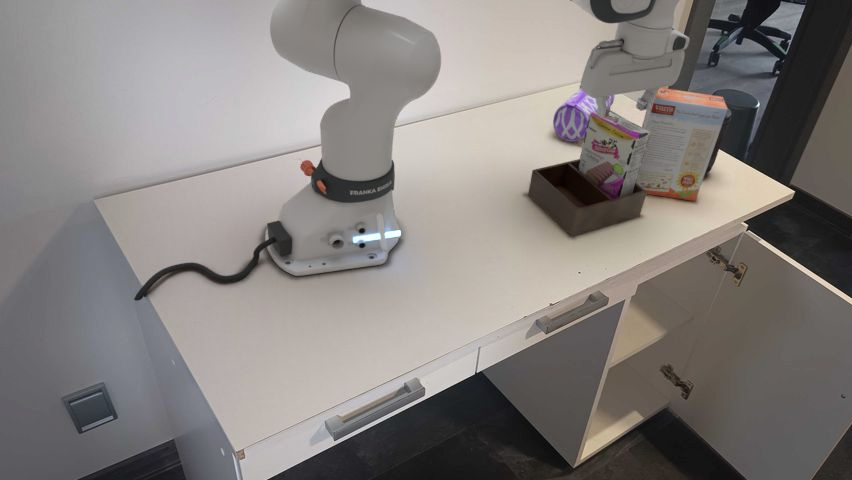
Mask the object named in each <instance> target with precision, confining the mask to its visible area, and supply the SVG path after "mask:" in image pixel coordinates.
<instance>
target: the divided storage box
mask: <svg viewBox="0 0 852 480" xmlns="http://www.w3.org/2000/svg"><path fill="white" fill-rule="evenodd" d="M579 160H580V158H578V159H574V160H570V161H564V162H560V163H556V164H552V165H548V166H544V167H539V168H535V169H532V171H531V177H530V182H529V187H528V195H527V196H529V198H530V199H531V200H532V201H534V202H535V203H536V205H538V206H539V207H540V208H541V209H542V210H543V211H544V212H545V213H546V214H547V215H549V216H550V218H552V219H553V220H554V221H555V222H556V223H557V224H558V225H559V226H560V227H561V228H562V229H563V230H564V231H565V232H566V233H568V235H570V236H571V237H575V236H579V235H582V234H585V233H588V232H593V231H595V230H598V229H601V228H605V227H609V226H612V225H615V224H618V223H622V222H625V221H628V220H632V219H635V218H638V217H640V216H641V213H642V209H643V207H644V203H645V200H646V197H647V195H648V194H647V191H646V190H644V189H643V188H642V187H641V186H639V185H638V184H637V183H635V187H634V190H633V193H632V194H629V195H626V196H622V197H618V198H615V199H612V198H611V197H610V196H609V195H607V194H606V193H605V192H604V191H603V190H601V189H600V188H599V187H598V186H597V185H595V184H594V183H593V182H592V181H591V180H590V179H588V178H587V177H586V176H585V175H584V174H582V173H581V172H580V171H579V170H578V165H579Z"/></svg>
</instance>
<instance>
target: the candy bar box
mask: <svg viewBox="0 0 852 480" xmlns="http://www.w3.org/2000/svg"><path fill="white" fill-rule="evenodd" d="M649 136H650V132H649V131H647V130H645V129H644V128H642V126H639V125H638V124H636V123H634V122H633V121H630V120H628V119H627V118H625V117H623V116H621V115H619V114H618V113H616V112H614V111H612V110H610V112H609V116H608V117H604V118H600V117H599V116H598V115H597V111H596V112H592V113H591V114H590V116H589V120H588V125H587V129H586V133H585V137H584V138H583V143H582V146H581V148H582V149H581V152H580V155H579V159H580V160H579V165H578V170H579V171H580V172H581V173H582V174H584V175H585V176H586V177H587V178H588V179H590V180H591V181H592V182H593V183H594V184H595V185H597V186H598V187H599V188H600V189H601V190H603V191H604V192H605V193H606V194H607V195H609V196H610V197H611V198H612V199H615V198H618V197H622V196H626V195H629V194H632V193H633V190H634V187H635V183H636V180H637V176H638V173H639V170H640V166H641V163H642V160H643V156H644V153H645V150H646V146H647V143H648V140H649Z"/></svg>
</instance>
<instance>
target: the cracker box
mask: <svg viewBox="0 0 852 480" xmlns="http://www.w3.org/2000/svg"><path fill="white" fill-rule="evenodd" d="M727 108H728V105H727V104H726V101H725V98H724V97H723V96H719V95H714V94H713V95H712V94H706V93H700V92H692V91H686V90H679V89H673V88H668V87H666V88H665V87H660V88H659V89H658V93H657V94H656V95H655V96H654V98H653V99H652V100H651V101H650V104H649V107H648V109H647V110H645V113H644V118H643V121H642V126H641V127H642V128H644V129H645V130H647V131H649V132H650V136H649V140H648V143H647V146H646V150H645V153H644V156H643V160H642V163H641V166H640V170H639V173H638V176H637V180H636V183H637V184H638V185H639V186H641V187H642V188H643V189H644V190H646V191H647V194H646V195H653V196H658V197H666V198H672V199H679V200H686V201H692V202H695V201H696V200H697V197H698V194H699V192H700V189H701V186H702V183H703V180H704V179H705V178H704V175H705V172H706V169H707V167H708V164H709V161H710V158H711V155H712V152H713V149H714V147H715V144H716V141H717V138H718V135H719V132H720V129H721V127H722V124H723V121H724V118H725V115H726V113H727V110H728V109H727Z"/></svg>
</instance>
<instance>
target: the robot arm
mask: <svg viewBox="0 0 852 480" xmlns="http://www.w3.org/2000/svg"><path fill="white" fill-rule="evenodd" d="M570 1H571V2H572V3H574V4H575V5H576V6H578V7H579V8H581V9H582V10H583V11H584V12H586V13H587V14H589V15H590V16H592V18H594V19H596V20H597V21H600V22H602V23H605V24H617V27H616V31H615V35H614V39H612V40H601V41H599V42H598V44H596V45H595V46H594V48H592V49H591V51H590V54H589V56H588V58H587V61H586V64H585V67H584V70H583V72H582V77H581V80H580V83H579V87H580V86H581V89H582V91H583V92H584V93H586V94H587V95H588V96H590V97H592V98H596V102H597V105H598V108H597V115H598V116H599V117H600V118H604V117H608V116H609V112H610V111H611V107H610V108H609V107H607V105H606V101H608V100H609V96H611V95H614V96H616V95H622V94H623V95H624V94H629V93H635V92H642V91H644V92H643V94H642V96H641V97H638V98H637V100H636V104H635V108H636V109H637V110H638V111H646V110H647V109H648V107H649V104H650V101H651V100H652V99H653V98H654V96H655V95H656V94H657V93H658V89H659V88H665V87H666V88H667V87H671V86H674V85H675V84H676V82H677V81H678V79H679V77H680V74H681V71H682V68H683V64H684V62H685V61H684V60H685V55H686V54H685V53H686V52H685V50H686V49H687V48H688V47H689V44H690V37H689V36H687V35H685V34H684V33H682V32H681V31H679V30H677V29H675V28H673V25H674V21H675V20H674V16H675V9H676V7H677V6H678V3H679V2H680V0H570ZM269 34H270V39H271V42H272V46H273V48H274V50H275V51H276V53H277V54H278V55H279V56H280V57H281V58H283V59H284V60H286V61H288V62H290V63H291V64H292V65H294V66H296V67H297V68H300V69H302V70H303V71H305V72H307V73H311V74H314V75H317V76H321V77H324V78H326V79H327V78H328V79H330V80H333V81H336V82H341V83H343V84H345V85H347V87H348V89H349V98H344V99H342V100H339V101H336V102H335V103H333V104H331V105H330V106H329V107H327V109H326V110H325V111H324V113H323V115H322V116H321V119H320V123H319V132H320V133H319V135H320V148H321V149H320V150H321V158H320V160H319V163H318V164H317V166H315V165H314V164H313V162H312V161H311V160H309V159H305V160H303V161H301V163H300V166H299V168H300V170H301V171H302V172H303V174H304V176H307V177H310V182H309V183H308V184H305V186H304V187H302V189H300V190H299V191H298V192H296V193H295V194H294V195H292V196H291V197H290V198H289V199H287V200H285V202H283V203H282V205H281V207H280V209H279V213H278V219H277V220H276V221H271V222H268V223H267V222H266V229H265V233H264V234H265V235H264V238H265V239H264V241H262V242H261V243H259V244H258V245H257V246H256V247H255V249H254V250H253V254H252V255H253V256H252V258H251V260H250V261H249V263H248V264H247V265H246V267H245V268H244V269H242V271H239V272H238V273H235V274H230V275H221V274H219V273H216V272H215V271H213V270H212V269H210V268H209V267H208V266H205V265H203V264H201V263H197V262H183V263H178V264H173V265H170V266H166V267H165V268H162V269H161V270H159V271H157V272H155V273H154V274H153V275H152V276H151V277H150V278H149V279H148V280H147V281H146V282H145V283H144V284H143V285H142V286H141V288H140V289H139V290H138V292H137V293H136V295H135V296H134V298H133V299H134V301H136V302H137V301H142V299H143V298H144V297H145V296H146V294H147V292H149V290H150V289H151V288H152V287H153V286H154V284H156V283H157V282H158V281H159V280H160V279H162V278H163V277H165V276H166V275H168V274H171V273H174V272H177V271H182V270H188V269H192V270H198V271H199V272H201V273H203V274H205V276H208V277H209V278H211V279H213V280H215V281H217V282H218V281H219V282H225V283H228V282H235V281H238V280H241V279H244V278H245V277H247V276H248V275H249V273H251V271H252V270H253V269H254V268H255V266H256V265H257V264H258V262H259V260H260V257H261V252H262V251H264V249H266V250H267V252H268V253H269V255H270V257H271V258H272V260H273V261H274V263H275V264H276V265H277V266H278V267H279V268H280V269H281V270H283V271H284V272H286V273H288V274H289V275H292V276H295V277H301V276H310V275H317V274H324V273H331V272H338V271H344V270H351V269H352V270H353V269H359V268H366V267H373V266H380V265H384V264H385V263H386V262H387V260H388V257H389V253H390V251H391V250H392V249H393V248H395V246H396V245H397V243H398V242H399V240H400V237H401V235H402V232H401V229H400V227H399V224H398V222H397V221H398V220H397V217H396V213H395V206H394V198H393V197H394V196H393V191H394V190H395V180H396V179H395V178H396V175H395V162H394V160H393V149H394V148H393V145H394V134H395V127H396V122H397V119H398V118H399V116H400V114H401V112H402V111H403V109H404V108H406V106H407V105H408V104H410V103H411V102H413V101H415V100H417V99H420V98H422V97H423V96H424V95H426V94H427V93H428V92H429V91H430V90H431V89H433V87H434V85H435V83H436V82H437V80H438V79H439V78H438V77H439V76H440V75H439V74H440V71H441V68H442V67H441V66H442V52H441V47H440V44H439V42H438V39H437V37H436V35H435V34H434V33H433V32H432V31H431V30H429V29H427V28H425V27H424V26H422V25H420V24H418V23H417V22H415V21H412V20H411V19H408V18H406V17H404V16H401V15H397V14H394V13H391V12H390V13H389V12H387V11H383V10H379V9H375V8H372V7H369V6H365V5H363V3H362V0H279V1H278V3H277V4H276V5H275V8H274V9H273V11H272V14H271V18H270V22H269Z"/></svg>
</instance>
